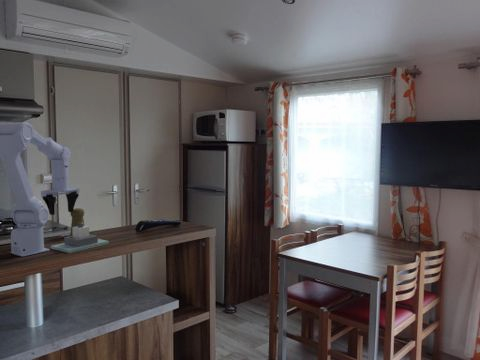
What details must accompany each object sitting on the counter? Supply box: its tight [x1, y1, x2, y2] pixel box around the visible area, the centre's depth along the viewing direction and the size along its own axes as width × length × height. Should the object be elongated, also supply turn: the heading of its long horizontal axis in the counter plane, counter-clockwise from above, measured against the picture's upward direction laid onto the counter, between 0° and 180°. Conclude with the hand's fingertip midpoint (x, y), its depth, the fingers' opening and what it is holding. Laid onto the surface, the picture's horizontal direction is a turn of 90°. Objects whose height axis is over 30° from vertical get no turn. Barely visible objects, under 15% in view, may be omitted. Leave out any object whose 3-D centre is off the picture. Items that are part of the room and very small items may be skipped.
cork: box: [69, 207, 86, 236], centre depth 162 cm, size 6×6×11 cm
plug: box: [72, 222, 90, 239], centre depth 144 cm, size 4×4×8 cm
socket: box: [50, 233, 110, 254], centre depth 145 cm, size 16×11×4 cm
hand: (61, 213), depth 154 cm, fingers open, 7 cm apart
